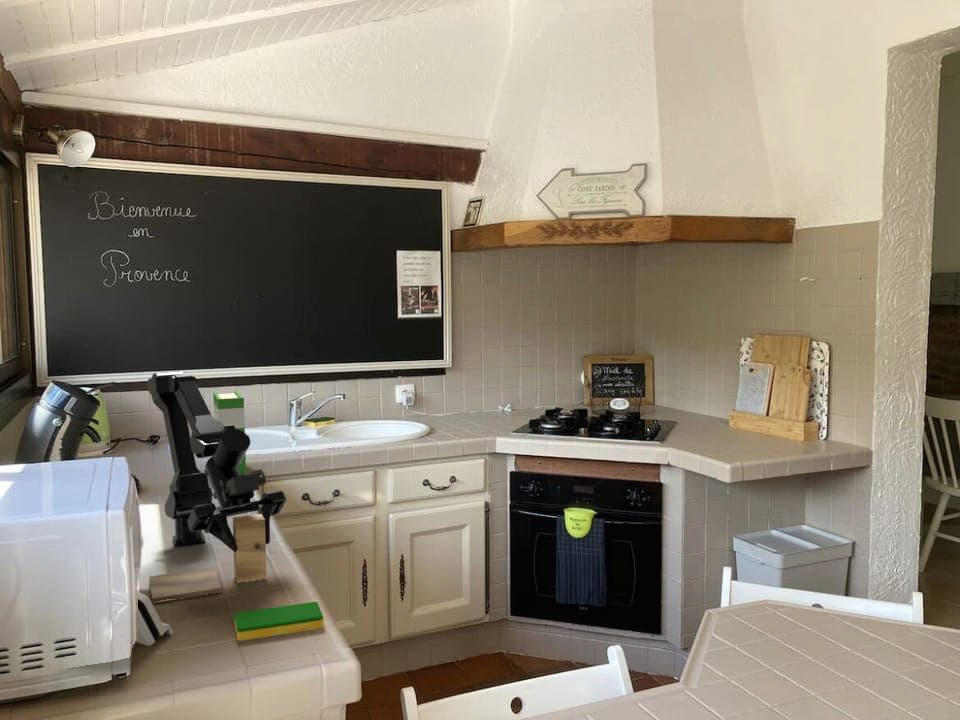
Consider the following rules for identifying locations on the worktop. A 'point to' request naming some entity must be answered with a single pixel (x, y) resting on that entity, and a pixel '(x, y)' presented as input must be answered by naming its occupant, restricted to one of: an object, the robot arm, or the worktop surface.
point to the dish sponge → (278, 621)
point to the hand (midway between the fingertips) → (252, 546)
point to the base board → (185, 584)
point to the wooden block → (249, 548)
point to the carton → (231, 415)
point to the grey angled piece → (149, 622)
